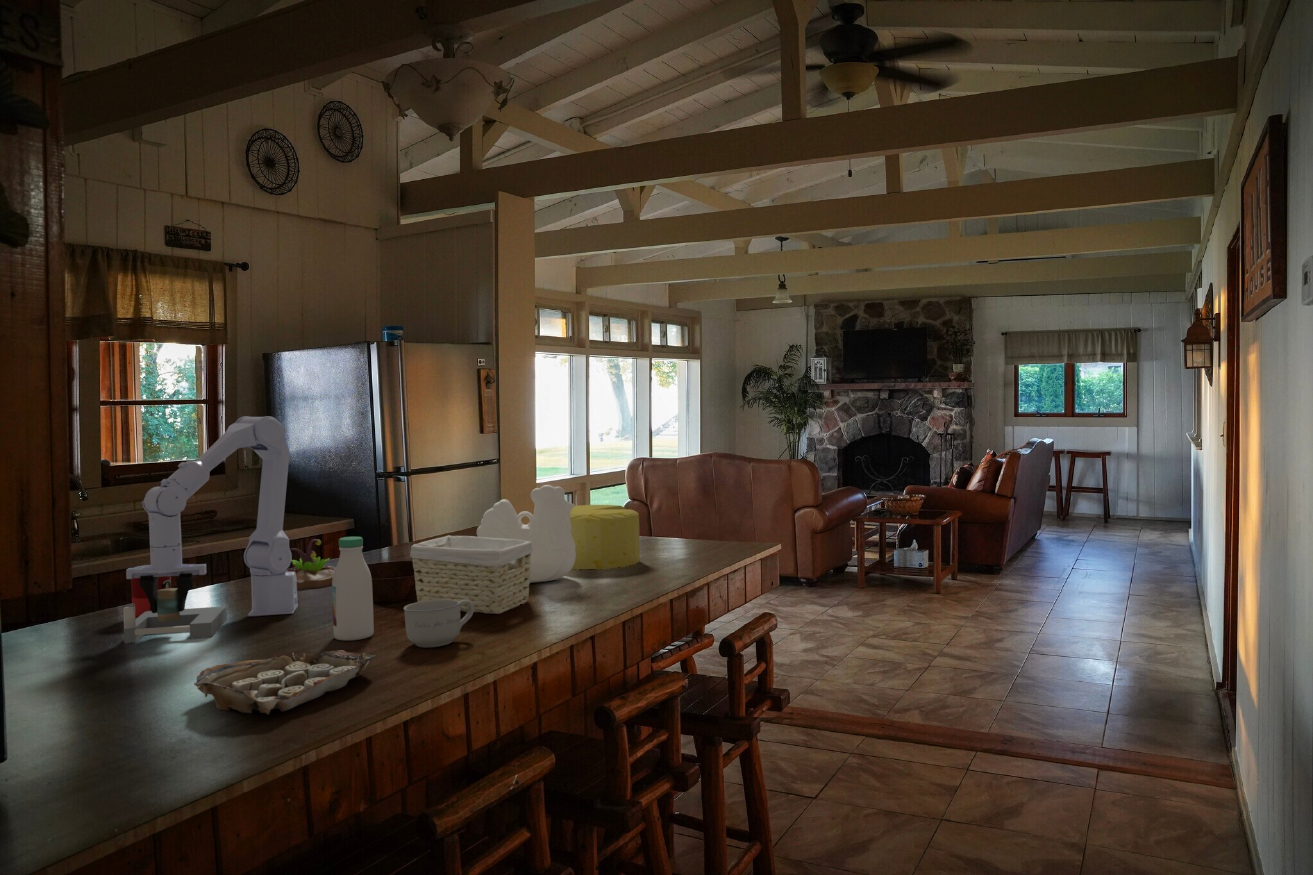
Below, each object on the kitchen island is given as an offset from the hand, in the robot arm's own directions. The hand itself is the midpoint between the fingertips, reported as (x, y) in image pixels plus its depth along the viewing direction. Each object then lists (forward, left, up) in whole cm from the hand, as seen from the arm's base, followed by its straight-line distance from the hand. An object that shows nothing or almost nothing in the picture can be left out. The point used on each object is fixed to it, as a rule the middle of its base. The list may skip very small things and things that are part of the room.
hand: (168, 611), depth 192 cm
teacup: (-54, +23, -5) cm, 59 cm away
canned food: (+8, -19, -5) cm, 21 cm away
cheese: (-98, -54, -5) cm, 112 cm away
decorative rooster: (-77, -33, -5) cm, 84 cm away
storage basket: (-62, -8, -5) cm, 63 cm away
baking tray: (-29, +46, -5) cm, 54 cm away
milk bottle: (-37, +13, -5) cm, 40 cm away
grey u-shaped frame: (-1, -3, -5) cm, 6 cm away
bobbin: (0, 0, -2) cm, 2 cm away
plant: (-22, -50, -5) cm, 55 cm away
